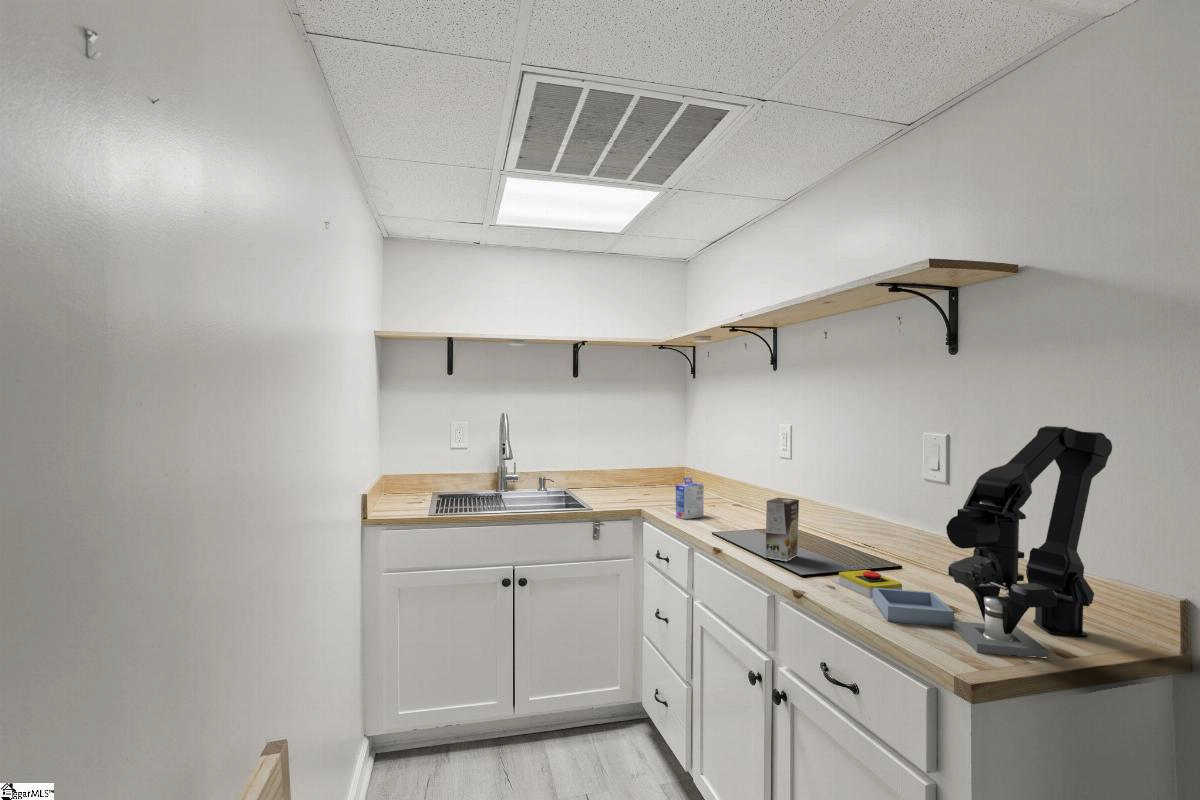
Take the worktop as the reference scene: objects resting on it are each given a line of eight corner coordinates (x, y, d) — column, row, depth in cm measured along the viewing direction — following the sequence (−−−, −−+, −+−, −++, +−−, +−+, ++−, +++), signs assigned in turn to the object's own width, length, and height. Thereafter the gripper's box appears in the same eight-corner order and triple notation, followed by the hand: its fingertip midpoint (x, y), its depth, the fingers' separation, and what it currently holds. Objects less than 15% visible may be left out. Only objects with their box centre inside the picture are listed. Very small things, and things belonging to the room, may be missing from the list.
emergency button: (876, 583, 130) (830, 564, 145) (875, 603, 130) (830, 582, 145) (910, 580, 133) (861, 562, 147) (909, 599, 133) (861, 579, 147)
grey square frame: (1016, 634, 113) (1016, 626, 113) (1047, 658, 102) (1047, 650, 102) (952, 628, 115) (953, 620, 115) (976, 652, 104) (977, 643, 104)
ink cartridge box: (694, 514, 225) (694, 476, 225) (704, 517, 220) (705, 478, 220) (674, 517, 219) (675, 478, 219) (684, 519, 215) (685, 479, 214)
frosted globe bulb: (1005, 639, 110) (1006, 596, 110) (1016, 649, 106) (1017, 604, 106) (978, 637, 111) (979, 594, 111) (989, 646, 107) (990, 602, 107)
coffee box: (787, 563, 159) (789, 503, 159) (764, 559, 163) (765, 500, 163) (798, 556, 167) (799, 499, 167) (775, 552, 171) (776, 496, 171)
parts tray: (932, 606, 128) (932, 592, 128) (953, 626, 116) (954, 611, 116) (872, 601, 130) (872, 587, 130) (887, 621, 118) (887, 606, 118)
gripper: (924, 533, 116) (922, 612, 116) (1002, 558, 98) (1000, 653, 98) (975, 532, 118) (973, 610, 118) (1060, 557, 100) (1059, 650, 100)
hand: (997, 629), depth 108 cm, fingers closed on frosted globe bulb, 4 cm apart
